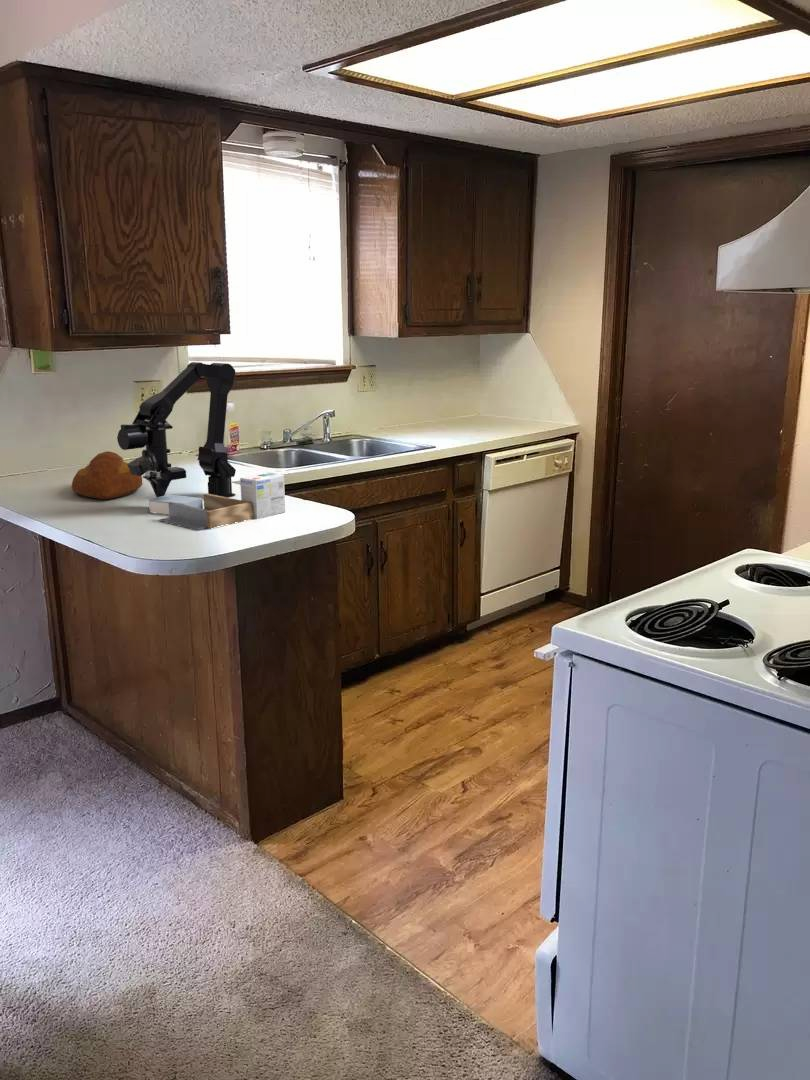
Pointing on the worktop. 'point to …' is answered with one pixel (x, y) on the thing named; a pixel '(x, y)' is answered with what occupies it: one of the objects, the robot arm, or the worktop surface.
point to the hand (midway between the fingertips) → (160, 500)
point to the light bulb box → (264, 493)
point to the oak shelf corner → (226, 510)
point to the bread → (106, 478)
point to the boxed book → (162, 502)
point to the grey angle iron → (187, 516)
